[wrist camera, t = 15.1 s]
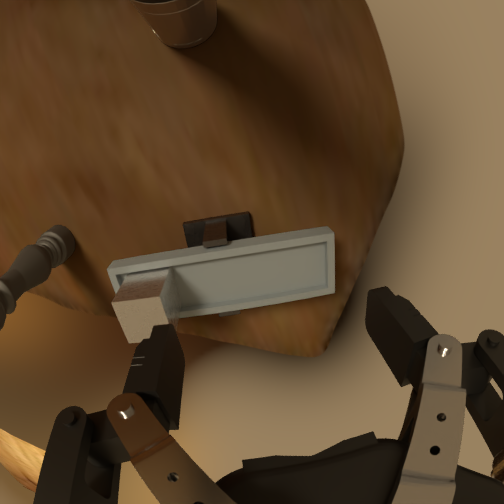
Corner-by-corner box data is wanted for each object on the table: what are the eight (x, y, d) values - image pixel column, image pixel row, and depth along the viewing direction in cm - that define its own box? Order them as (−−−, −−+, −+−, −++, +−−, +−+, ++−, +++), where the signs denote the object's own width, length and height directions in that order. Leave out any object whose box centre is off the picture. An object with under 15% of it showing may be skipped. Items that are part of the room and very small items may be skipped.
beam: (113, 260, 38) (106, 269, 36) (327, 226, 39) (334, 232, 36) (132, 313, 42) (127, 323, 39) (328, 283, 43) (334, 292, 40)
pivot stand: (183, 222, 44) (174, 244, 36) (248, 211, 45) (254, 231, 36) (199, 289, 49) (195, 321, 41) (258, 280, 50) (265, 311, 41)
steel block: (129, 270, 37) (111, 302, 30) (170, 264, 37) (159, 296, 30) (142, 307, 40) (129, 343, 32) (181, 302, 40) (174, 339, 33)
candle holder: (81, 244, 44) (-1, 333, 21) (62, 264, 45) (-14, 352, 22) (59, 217, 42) (-35, 290, 19) (42, 238, 43) (-45, 314, 20)
